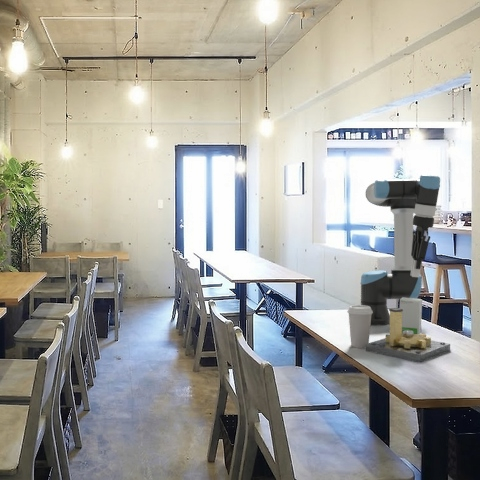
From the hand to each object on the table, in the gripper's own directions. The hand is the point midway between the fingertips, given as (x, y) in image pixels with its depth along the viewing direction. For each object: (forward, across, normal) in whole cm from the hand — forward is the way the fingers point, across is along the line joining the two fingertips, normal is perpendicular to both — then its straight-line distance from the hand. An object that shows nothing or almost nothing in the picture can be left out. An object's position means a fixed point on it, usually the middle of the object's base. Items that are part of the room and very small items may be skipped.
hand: (414, 276), depth 224 cm
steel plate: (+26, -13, +3) cm, 29 cm away
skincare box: (+27, +9, -5) cm, 29 cm away
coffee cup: (+28, -5, +19) cm, 34 cm away
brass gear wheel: (+23, -13, +3) cm, 26 cm away
